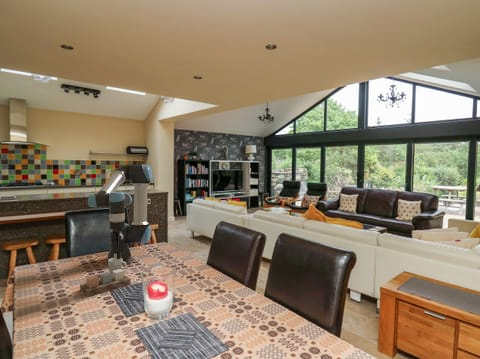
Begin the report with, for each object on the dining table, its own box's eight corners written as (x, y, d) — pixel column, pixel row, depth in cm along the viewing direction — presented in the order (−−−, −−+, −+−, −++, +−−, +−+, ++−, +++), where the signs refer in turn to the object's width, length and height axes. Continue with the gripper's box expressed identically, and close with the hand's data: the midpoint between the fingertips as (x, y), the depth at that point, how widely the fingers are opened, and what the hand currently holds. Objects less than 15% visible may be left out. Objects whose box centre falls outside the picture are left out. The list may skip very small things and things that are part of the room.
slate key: (108, 280, 152) (108, 271, 152) (111, 282, 149) (111, 274, 149) (99, 282, 149) (99, 274, 149) (103, 285, 146) (103, 276, 146)
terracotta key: (95, 283, 147) (95, 275, 147) (98, 286, 144) (98, 277, 144) (86, 286, 144) (86, 277, 144) (89, 288, 141) (89, 279, 141)
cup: (129, 270, 173) (129, 257, 172) (122, 275, 165) (122, 262, 165) (112, 269, 174) (112, 257, 174) (105, 274, 166) (105, 261, 166)
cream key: (120, 276, 157) (120, 268, 156) (124, 279, 154) (124, 270, 153) (112, 279, 154) (112, 270, 153) (115, 281, 150) (115, 273, 150)
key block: (121, 278, 161) (121, 273, 160) (130, 284, 153) (130, 278, 153) (79, 290, 145) (79, 284, 145) (87, 297, 137) (87, 291, 137)
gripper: (105, 220, 154) (105, 263, 155) (115, 223, 145) (115, 269, 146) (119, 218, 159) (119, 260, 160) (129, 221, 150) (129, 265, 151)
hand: (117, 264), depth 153 cm, fingers closed
